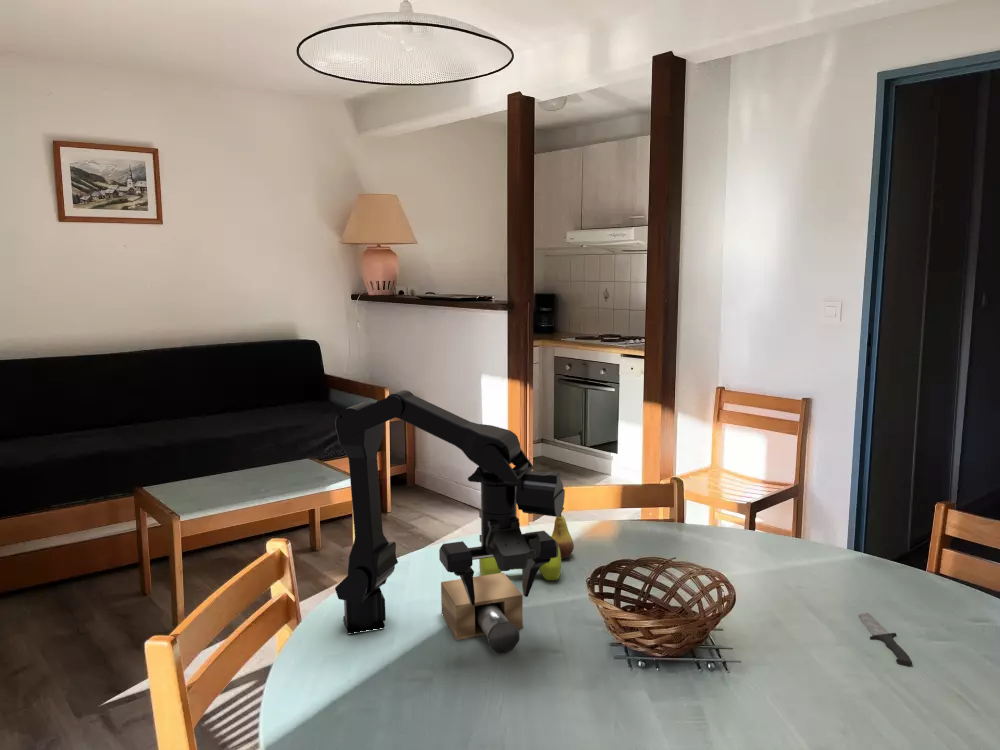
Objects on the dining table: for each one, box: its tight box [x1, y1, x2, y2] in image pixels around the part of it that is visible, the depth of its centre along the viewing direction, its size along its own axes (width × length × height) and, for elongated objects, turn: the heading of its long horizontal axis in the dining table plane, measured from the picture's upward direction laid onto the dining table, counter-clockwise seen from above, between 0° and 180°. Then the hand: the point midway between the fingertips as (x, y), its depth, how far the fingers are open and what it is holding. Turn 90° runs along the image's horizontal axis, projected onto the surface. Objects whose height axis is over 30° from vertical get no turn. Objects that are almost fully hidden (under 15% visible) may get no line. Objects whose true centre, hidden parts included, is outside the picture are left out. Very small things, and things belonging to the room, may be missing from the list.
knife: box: [857, 612, 913, 667], centre depth 131 cm, size 22×1×5 cm
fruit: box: [550, 506, 575, 559], centre depth 164 cm, size 6×6×12 cm
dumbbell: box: [478, 546, 562, 581], centre depth 154 cm, size 16×8×7 cm, turn 93°
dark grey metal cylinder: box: [475, 603, 520, 655], centre depth 131 cm, size 5×15×5 cm, turn 19°
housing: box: [440, 572, 524, 641], centre depth 136 cm, size 12×10×6 cm
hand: (499, 600), depth 125 cm, fingers open, 9 cm apart
